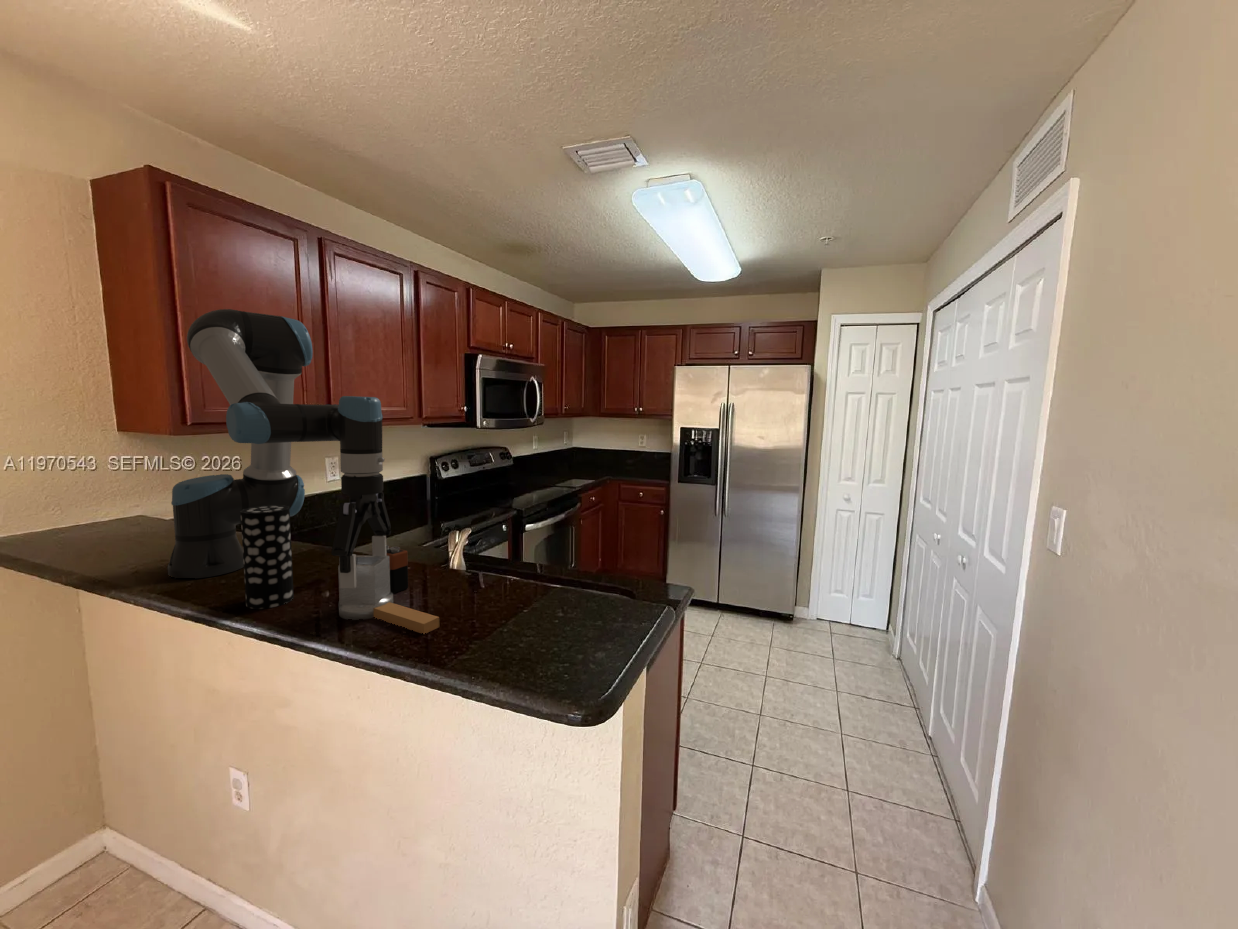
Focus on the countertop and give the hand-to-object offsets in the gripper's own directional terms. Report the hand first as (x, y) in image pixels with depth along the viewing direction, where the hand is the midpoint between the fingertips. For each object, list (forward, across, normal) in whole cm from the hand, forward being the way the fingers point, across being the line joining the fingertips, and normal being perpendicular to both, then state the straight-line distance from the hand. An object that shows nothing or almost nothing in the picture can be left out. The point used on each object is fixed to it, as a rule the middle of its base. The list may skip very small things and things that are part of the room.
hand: (365, 575), depth 101 cm
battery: (+8, +12, 0) cm, 14 cm away
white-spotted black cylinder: (+8, +4, +22) cm, 23 cm away
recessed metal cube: (+5, 0, 0) cm, 5 cm away
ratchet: (+7, -4, -6) cm, 10 cm away
